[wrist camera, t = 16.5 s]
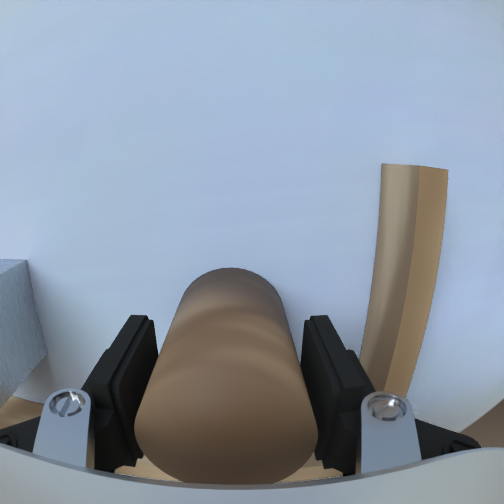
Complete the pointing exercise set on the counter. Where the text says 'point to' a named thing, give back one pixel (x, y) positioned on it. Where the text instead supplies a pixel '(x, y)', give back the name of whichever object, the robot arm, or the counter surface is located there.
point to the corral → (381, 298)
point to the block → (17, 327)
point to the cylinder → (227, 388)
